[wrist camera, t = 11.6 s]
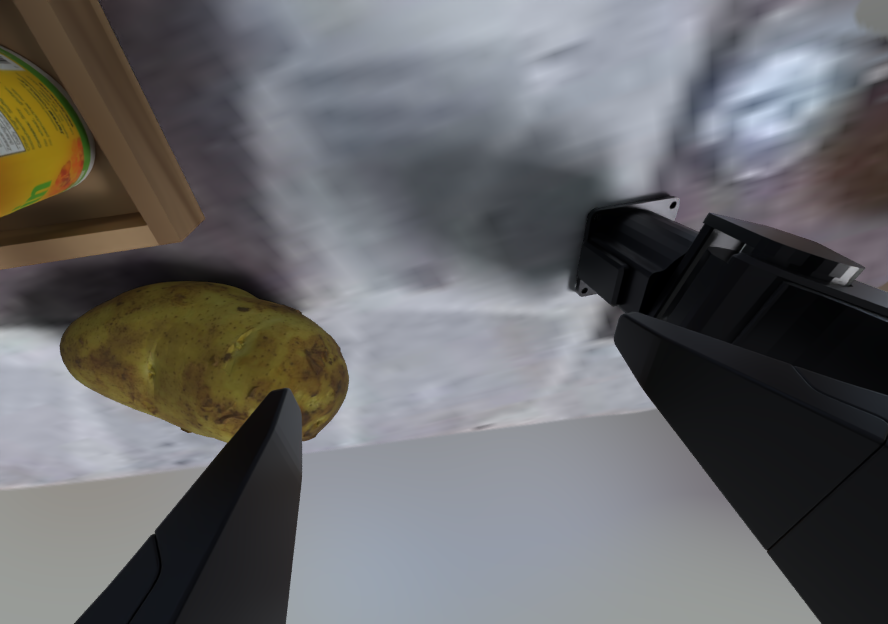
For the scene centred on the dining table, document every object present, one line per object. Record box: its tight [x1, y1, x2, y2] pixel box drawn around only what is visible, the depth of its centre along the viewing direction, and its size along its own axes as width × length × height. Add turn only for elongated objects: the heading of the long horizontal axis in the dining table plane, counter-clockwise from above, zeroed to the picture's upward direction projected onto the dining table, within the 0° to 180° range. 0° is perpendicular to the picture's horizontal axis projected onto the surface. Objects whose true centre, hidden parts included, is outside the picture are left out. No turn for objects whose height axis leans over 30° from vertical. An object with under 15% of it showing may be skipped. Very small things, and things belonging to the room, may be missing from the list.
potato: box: [60, 281, 349, 443], centre depth 18 cm, size 8×13×8 cm, turn 57°
